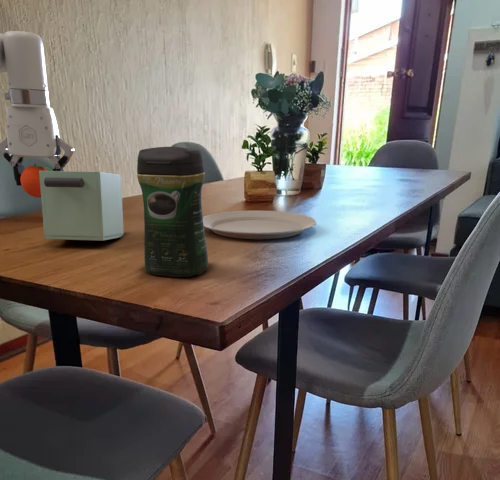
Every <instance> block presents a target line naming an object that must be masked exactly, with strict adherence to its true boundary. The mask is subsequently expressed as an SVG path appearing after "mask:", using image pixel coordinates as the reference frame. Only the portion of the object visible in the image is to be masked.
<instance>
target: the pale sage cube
mask: <svg viewBox="0 0 500 480" xmlns="http://www.w3.org/2000/svg"><path fill="white" fill-rule="evenodd" d="M39 176H40V188H41V197H40V200H41V211H42V212H41V214H42V223H43V225H42V226H43V237H44V240H64V241H65V240H66V241H67V240H68V241H69V240H70V241H103V242H104V241H108V240H113V239H119V238H124V236H125V235H124V234H125V233H124V232H125V231H124V212H123V187H122V186H123V185H122V174H116V173H110V172H104V171H82V170H81V171H78V170H77V171H73V170H72V171H71V170H69V171H68V170H63V171H51V170H48V171H39Z"/></svg>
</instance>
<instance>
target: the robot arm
mask: <svg viewBox="0 0 500 480" xmlns="http://www.w3.org/2000/svg"><path fill="white" fill-rule="evenodd" d="M44 47H45V46H44V41H43V39H42V37H41V36H40V35H39V34H37V33H35V32H31V31H25V30H24V31H22V30H7V31H5V32H4V33H1V32H0V73H7V74H6V75H7V83H8V92H4V95H3V96H4V99H5V100H6V101H9V103H10V106H9V105H7V108H6V138H5V139H3V140H2V141H1V142H0V153H1V154H2V155H3V158H4V159H5V160H6V161H7V162H8V163H9V165H10V166H11V167H12V169H13V170H12V171H13V178H14V181H15V183H16V186H18V187H19V186H20V187H21V186H22V185H21V182H20V177H21V174H22V172H23V170H24V169H26V168H25V166H24V165H23V162H24V160H25V158H39V159H40V158H41V159H42V158H43V159H44V158H45V159H46V158H48V159H49V161H50V162H51V164H52V165H53V168H52V170H53V171H64V169H65V167H66V165H67V164H68V163H69V162H70V161H71V158H72V156H73V154H74V152H75V148H74V147H72V146H71V145H69V144H68V143H67V142H65V141H64V140H63V139H62V138H61V136H60V129H59V126H58V121H57V117H56V114H55V111H54V108H53V107H51V106H50V103H51V102H50V95H49V86H48V76H47V66H46V58H45V57H46V56H45V48H44ZM62 150H63V151H64V152H63V155H62V156H60V155H61V154H62Z"/></svg>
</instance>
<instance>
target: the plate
mask: <svg viewBox="0 0 500 480" xmlns="http://www.w3.org/2000/svg"><path fill="white" fill-rule="evenodd" d="M202 216H203V215H202ZM203 225H204V228H206V229H210V230H211V231H212V232H213V233H214V234H216V235H219V236H223V237H227V238H233V239H242V240H276V239H286V238H291V237H294V236H297V235H300V234H301V233H302V232H303V231H305V230H308V229H311V228H313V227H315V226H316V225H317V220H316V219H315V218H313V217H311V216H308V215H304V214H301V213H295V212H288V211H279V210H261V209H260V210H258V209H257V210H251V209H250V210H249V209H248V210H231V211H222V212H216V213H215V212H214V213H210V214H206V215H204V216H203Z"/></svg>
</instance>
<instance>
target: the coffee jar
mask: <svg viewBox="0 0 500 480" xmlns="http://www.w3.org/2000/svg"><path fill="white" fill-rule="evenodd" d="M136 178H137V181H138V184H139V187H140V189H141V194H142V195H141V196H142V201H143V221H144V225H143V226H144V231H143V233H144V235H143V236H144V239H143V243H144V244H143V254H144V255H143V256H144V258H143V259H144V269H145V271H146V272H147V273H149V274H152V275H157V276H163V277H174V278H177V277H178V278H181V277H192V276H196V275H201V274H203V273H204V272H205V271H206V270H207V268H208V267H209V257H208V255H209V253H208V246H207V240H206V233H205V227H204V225H203V205H202V190H203V185H204V182H205V180H206V179H205V178H206V172H205V165H204V158H203V154H202V152H201V150H200V149H198V148H193V147H192V148H191V147H183V146H157V147H150V148H143V149H140V150H139V152H138V155H137V165H136Z"/></svg>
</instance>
